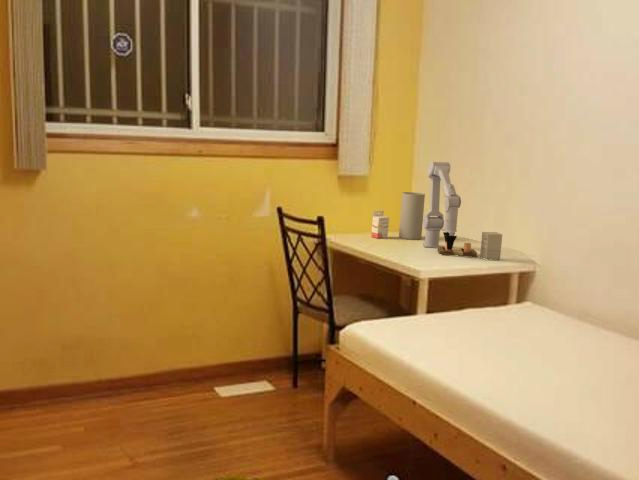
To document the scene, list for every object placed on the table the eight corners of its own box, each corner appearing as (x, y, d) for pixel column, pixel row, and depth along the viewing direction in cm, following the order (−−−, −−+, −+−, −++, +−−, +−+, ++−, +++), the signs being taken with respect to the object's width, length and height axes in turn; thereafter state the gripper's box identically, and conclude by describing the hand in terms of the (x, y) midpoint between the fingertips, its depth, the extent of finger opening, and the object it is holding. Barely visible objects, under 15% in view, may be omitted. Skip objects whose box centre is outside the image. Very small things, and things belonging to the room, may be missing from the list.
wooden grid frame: (437, 250, 340) (437, 246, 340) (473, 253, 339) (473, 249, 339) (439, 254, 328) (439, 250, 328) (476, 257, 327) (477, 253, 327)
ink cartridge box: (377, 238, 368) (379, 212, 366) (370, 237, 372) (372, 210, 370) (388, 237, 374) (390, 211, 372) (381, 236, 378) (383, 210, 375)
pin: (462, 254, 332) (464, 242, 331) (469, 255, 332) (470, 243, 331) (463, 256, 329) (464, 243, 328) (470, 256, 329) (471, 244, 328)
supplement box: (493, 257, 330) (496, 231, 328) (500, 260, 323) (502, 234, 321) (479, 257, 329) (481, 231, 327) (485, 260, 321) (488, 233, 319)
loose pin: (444, 253, 333) (445, 241, 332) (451, 254, 332) (452, 242, 331) (444, 254, 330) (445, 242, 329) (451, 255, 329) (452, 243, 328)
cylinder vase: (417, 236, 385) (421, 192, 381) (424, 240, 372) (427, 195, 368) (396, 235, 383) (399, 191, 379) (402, 239, 371) (405, 194, 367)
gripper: (441, 218, 336) (439, 245, 338) (444, 221, 322) (441, 250, 324) (455, 219, 335) (453, 246, 337) (459, 222, 321) (456, 251, 323)
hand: (448, 248), depth 331 cm, fingers open, 7 cm apart
